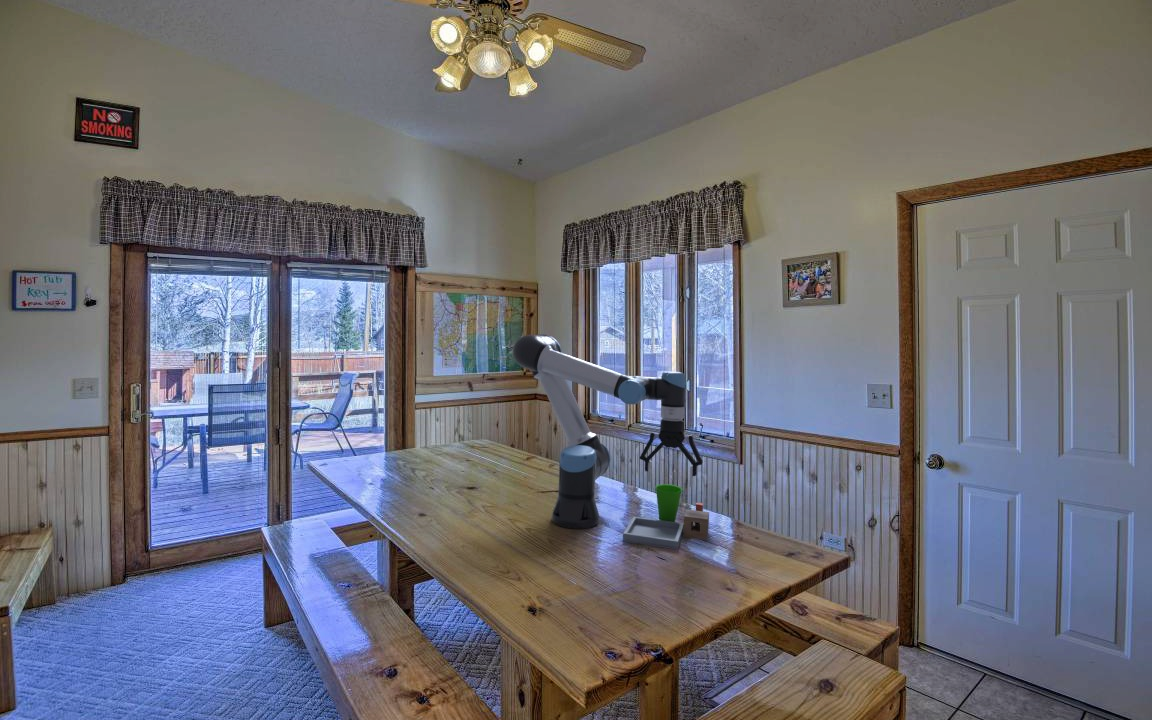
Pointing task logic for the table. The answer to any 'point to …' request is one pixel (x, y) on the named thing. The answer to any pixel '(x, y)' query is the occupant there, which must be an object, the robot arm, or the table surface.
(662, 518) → the cup
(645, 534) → the tray
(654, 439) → the robot arm
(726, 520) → the table surface
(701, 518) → the mount
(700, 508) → the pin
